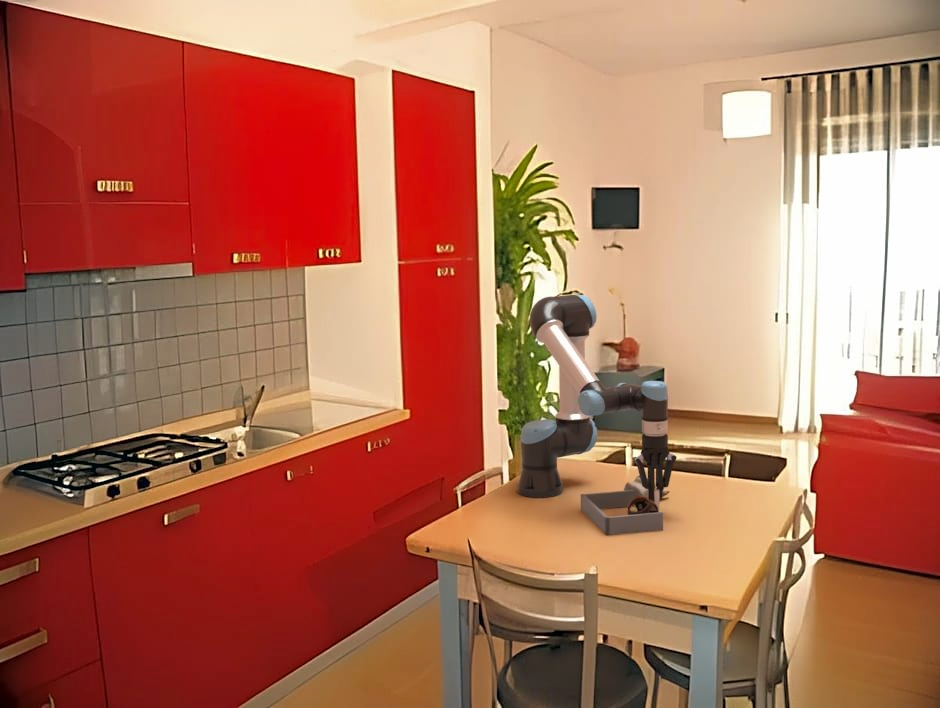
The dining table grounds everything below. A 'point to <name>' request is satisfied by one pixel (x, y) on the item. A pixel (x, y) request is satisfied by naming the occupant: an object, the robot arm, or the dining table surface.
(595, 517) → the walled box
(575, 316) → the robot arm
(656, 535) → the dining table surface
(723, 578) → the dining table surface
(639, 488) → the ceramic sculpture
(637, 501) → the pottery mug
